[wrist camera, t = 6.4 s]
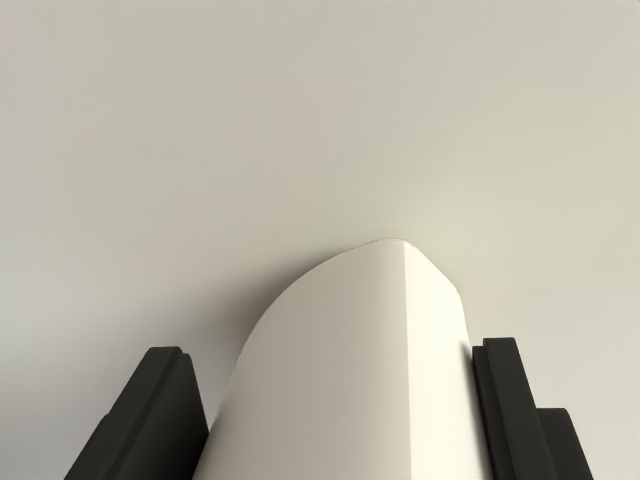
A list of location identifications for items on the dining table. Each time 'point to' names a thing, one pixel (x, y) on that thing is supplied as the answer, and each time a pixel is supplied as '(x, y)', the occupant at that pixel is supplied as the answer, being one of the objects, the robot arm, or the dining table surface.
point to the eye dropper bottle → (355, 379)
